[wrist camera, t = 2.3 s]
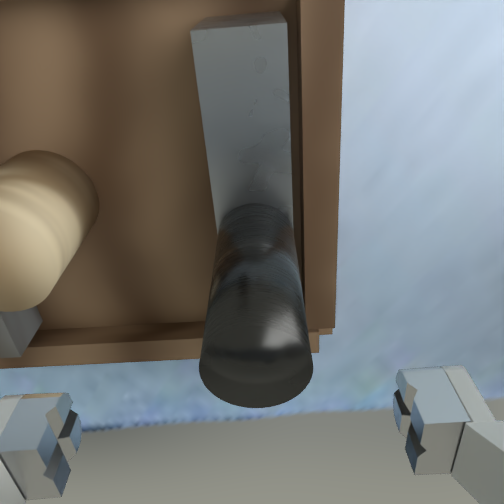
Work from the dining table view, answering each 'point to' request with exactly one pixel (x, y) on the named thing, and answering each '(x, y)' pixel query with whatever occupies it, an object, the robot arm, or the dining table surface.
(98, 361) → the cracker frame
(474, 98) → the dining table surface
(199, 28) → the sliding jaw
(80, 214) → the beige wooden cylinder
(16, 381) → the dining table surface
